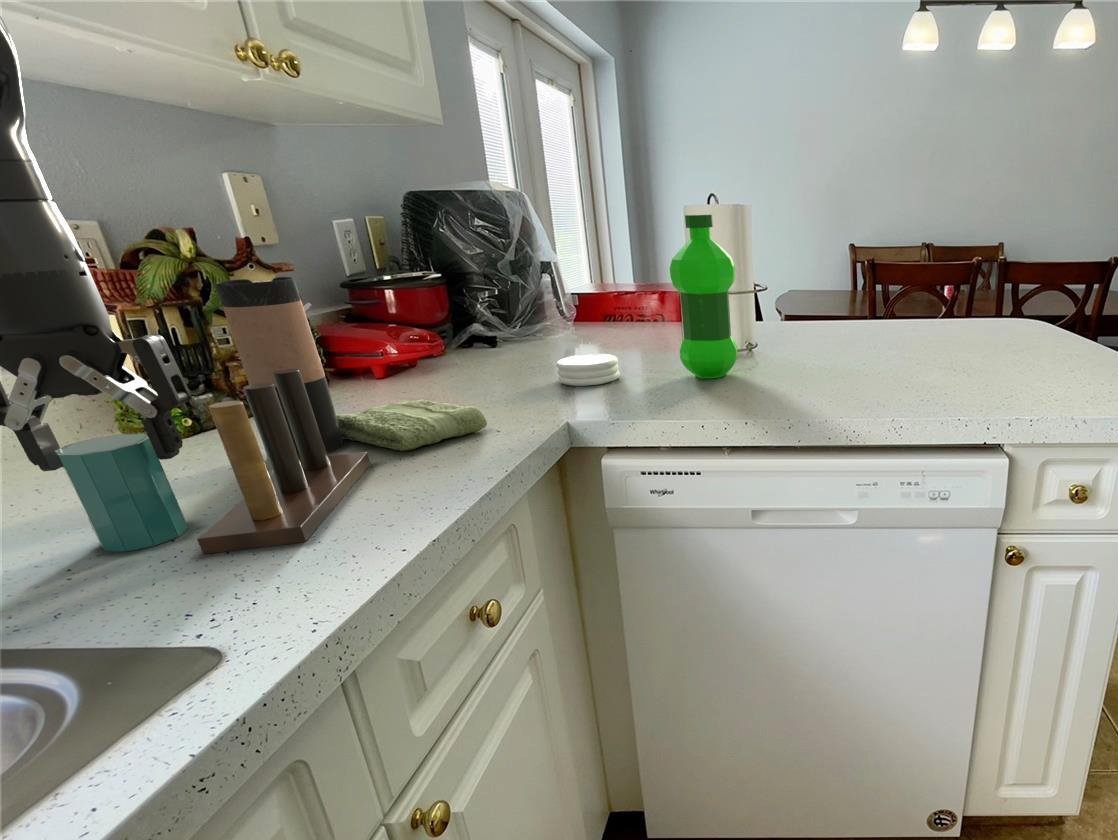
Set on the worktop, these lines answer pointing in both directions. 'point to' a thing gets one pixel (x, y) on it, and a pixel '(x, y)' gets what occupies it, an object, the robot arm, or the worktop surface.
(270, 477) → the drying rack
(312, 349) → the travel mug
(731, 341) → the plastic bottle
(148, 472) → the teal octagonal prism
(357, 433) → the washcloth
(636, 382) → the worktop surface
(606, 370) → the white stacked discs
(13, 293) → the robot arm
